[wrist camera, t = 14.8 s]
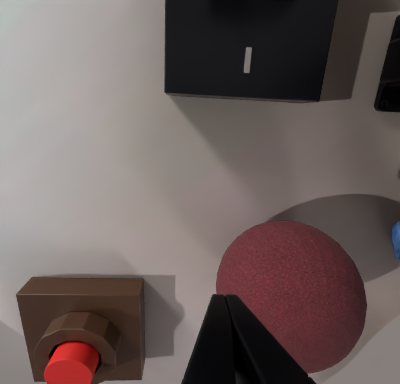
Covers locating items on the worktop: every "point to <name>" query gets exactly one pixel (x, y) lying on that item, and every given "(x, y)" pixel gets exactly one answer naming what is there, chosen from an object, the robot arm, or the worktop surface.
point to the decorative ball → (298, 290)
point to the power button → (72, 363)
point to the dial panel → (248, 48)
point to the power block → (86, 322)
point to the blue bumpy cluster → (396, 239)
